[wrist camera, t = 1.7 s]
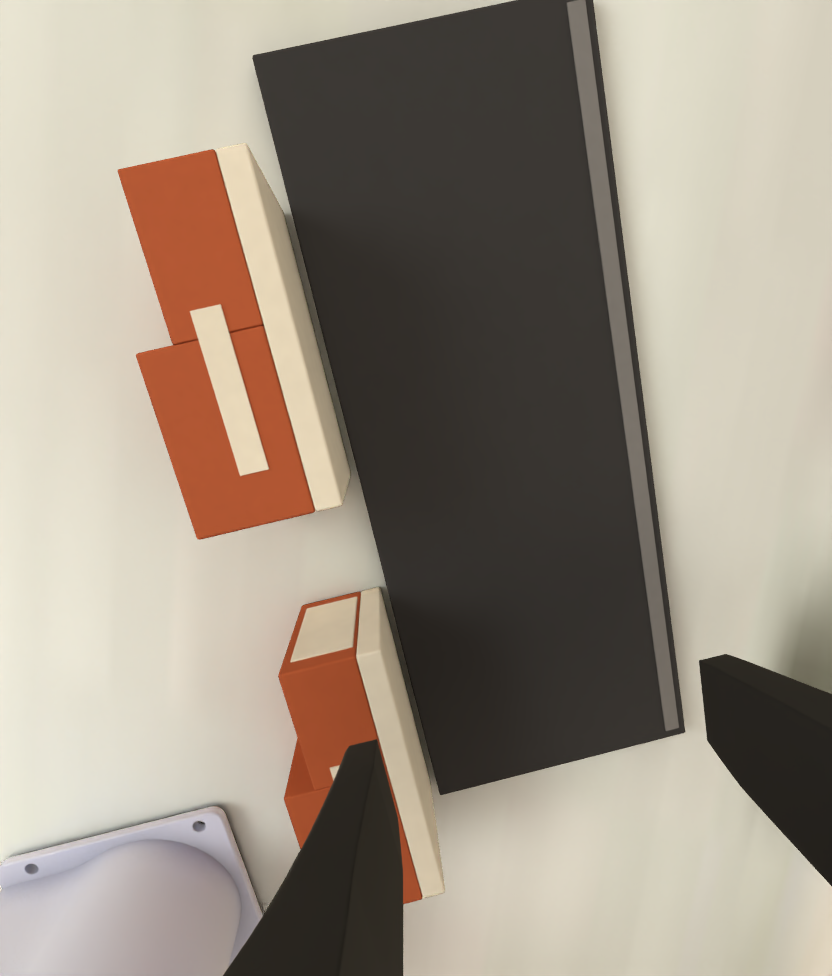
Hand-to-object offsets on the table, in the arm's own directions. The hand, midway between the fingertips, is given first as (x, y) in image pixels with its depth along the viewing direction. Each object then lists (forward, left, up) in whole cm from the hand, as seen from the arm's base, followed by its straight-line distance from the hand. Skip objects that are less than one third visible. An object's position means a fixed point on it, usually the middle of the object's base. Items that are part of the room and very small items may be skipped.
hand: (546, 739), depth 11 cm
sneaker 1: (-6, -4, -10) cm, 12 cm away
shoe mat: (+2, +5, -10) cm, 11 cm away
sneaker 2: (-6, +10, -10) cm, 15 cm away
